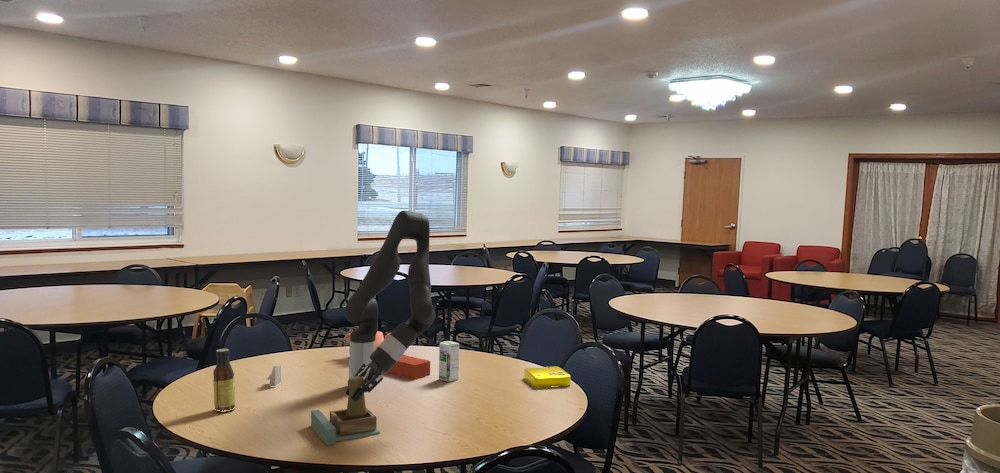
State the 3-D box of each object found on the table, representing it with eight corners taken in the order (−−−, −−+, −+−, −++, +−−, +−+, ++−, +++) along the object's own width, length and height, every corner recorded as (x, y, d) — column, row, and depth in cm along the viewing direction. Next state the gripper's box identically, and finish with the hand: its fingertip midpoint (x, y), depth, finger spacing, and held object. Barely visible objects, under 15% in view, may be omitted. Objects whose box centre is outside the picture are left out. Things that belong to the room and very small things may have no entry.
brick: (430, 375, 257) (430, 360, 257) (414, 380, 250) (414, 365, 249) (398, 367, 268) (398, 353, 267) (382, 372, 261) (382, 357, 260)
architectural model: (265, 388, 236) (265, 368, 236) (273, 383, 243) (273, 363, 243) (274, 389, 236) (274, 369, 236) (282, 383, 243) (282, 364, 242)
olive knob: (347, 410, 198) (347, 374, 197) (367, 409, 198) (367, 374, 198) (344, 416, 192) (344, 380, 191) (365, 416, 192) (365, 379, 192)
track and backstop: (311, 425, 198) (311, 410, 197) (362, 417, 206) (362, 403, 206) (327, 445, 182) (327, 429, 182) (382, 435, 190) (382, 420, 190)
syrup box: (438, 379, 251) (438, 342, 250) (449, 376, 255) (449, 340, 254) (448, 382, 247) (448, 344, 246) (459, 379, 251) (459, 342, 250)
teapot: (343, 357, 282) (343, 327, 281) (375, 352, 292) (376, 323, 291) (360, 365, 269) (360, 334, 268) (393, 360, 279) (394, 330, 278)
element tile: (558, 376, 259) (558, 364, 259) (572, 387, 245) (572, 374, 245) (522, 378, 256) (522, 366, 255) (534, 389, 241) (534, 376, 241)
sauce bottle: (239, 408, 212) (239, 348, 211) (225, 414, 206) (225, 353, 205) (223, 406, 214) (222, 346, 213) (209, 411, 208) (208, 351, 207)
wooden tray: (329, 423, 197) (329, 411, 197) (364, 418, 202) (364, 406, 202) (340, 435, 187) (340, 422, 187) (376, 429, 193) (376, 416, 193)
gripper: (372, 341, 204) (334, 383, 199) (388, 350, 192) (348, 396, 186) (388, 355, 207) (351, 398, 202) (405, 366, 195) (366, 411, 189)
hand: (350, 397), depth 194 cm, fingers closed on olive knob, 5 cm apart
